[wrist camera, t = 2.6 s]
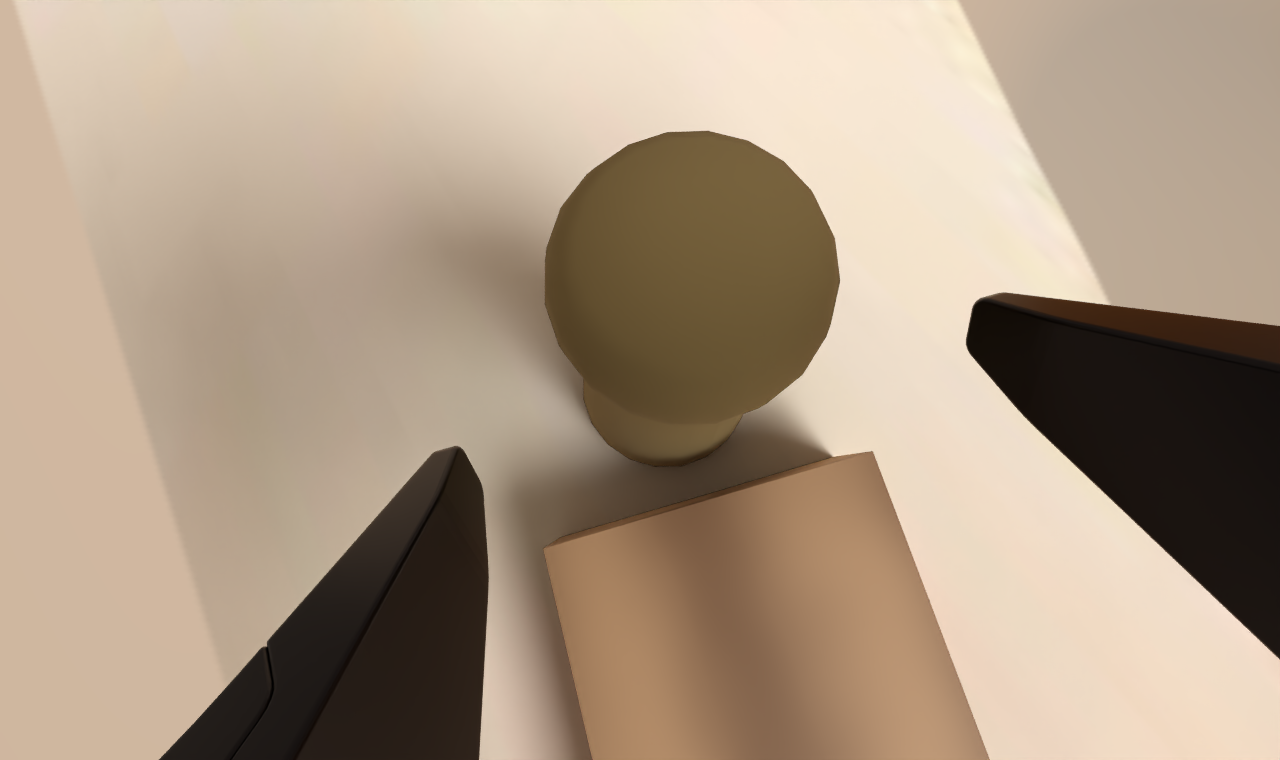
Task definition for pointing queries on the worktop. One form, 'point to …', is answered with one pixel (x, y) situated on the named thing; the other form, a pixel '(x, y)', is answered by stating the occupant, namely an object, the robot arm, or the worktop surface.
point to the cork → (688, 290)
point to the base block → (760, 628)
